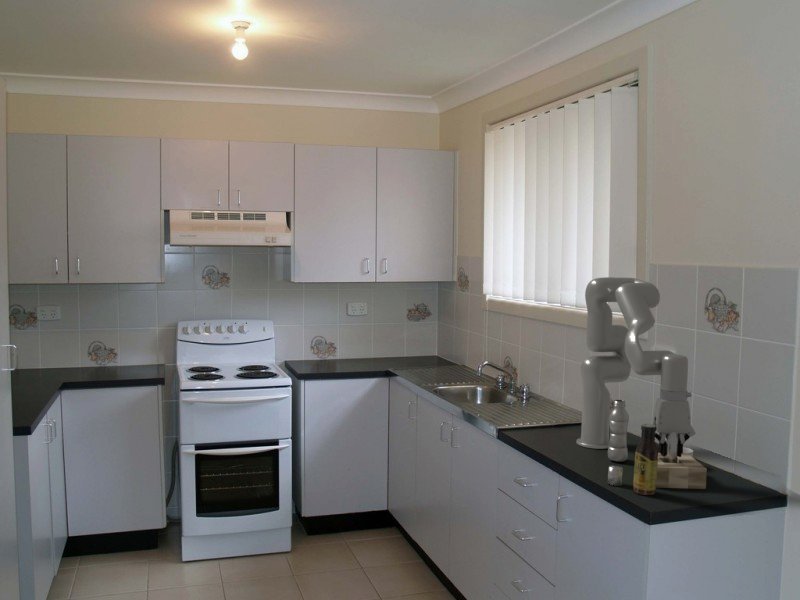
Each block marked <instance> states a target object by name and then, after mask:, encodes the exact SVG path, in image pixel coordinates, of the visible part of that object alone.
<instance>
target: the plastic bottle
mask: <svg viewBox="0 0 800 600" xmlns="http://www.w3.org/2000/svg"><path fill="white" fill-rule="evenodd" d="M625 408H626V400H623V399H613V409H612V410H610V415H609V421H610V423H609V440H610V441H609V447H608V448H607V457H608V459H609V460H610V461H613V462H618V463H619V462H625V461H626V460H627V459H628V455H629V454H628V447H627V445H628V444H627V443H628V441H627V435H628V434H627V433H628V426H629V423H630V422H629V421H630V416H629V413H628V411H627V409H625Z"/></svg>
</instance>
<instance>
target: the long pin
mask: <svg viewBox="0 0 800 600" xmlns="http://www.w3.org/2000/svg"><path fill="white" fill-rule="evenodd" d="M678 439H679V434H677V433H676V432H672V433H669V434H666V438H665V444H666V456H665V457H664V460H663V462H664V463H677V461H678Z"/></svg>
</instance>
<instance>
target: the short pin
mask: <svg viewBox="0 0 800 600" xmlns="http://www.w3.org/2000/svg"><path fill="white" fill-rule="evenodd" d="M623 469H624V468H623V467H622V466H619V465H609V466H608V471H607V473H608V474H607V485H609V484H610V486H613V485H614V486H615V487H620V486H622V485H623V483H622V482H623ZM614 486H613V487H614Z"/></svg>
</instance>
